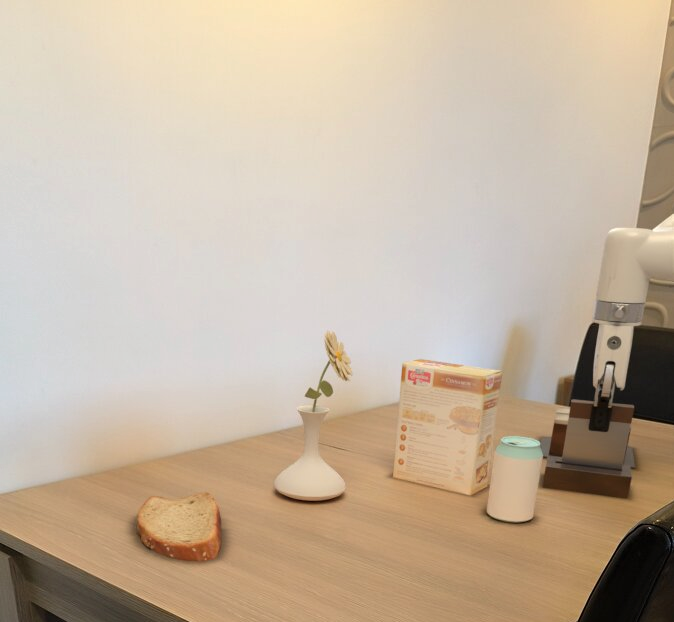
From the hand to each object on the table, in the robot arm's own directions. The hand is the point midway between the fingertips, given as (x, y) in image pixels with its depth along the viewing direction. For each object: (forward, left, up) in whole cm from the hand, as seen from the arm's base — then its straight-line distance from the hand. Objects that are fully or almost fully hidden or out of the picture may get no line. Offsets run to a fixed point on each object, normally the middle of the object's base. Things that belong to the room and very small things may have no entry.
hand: (598, 428), depth 138 cm
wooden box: (0, -24, -11) cm, 26 cm away
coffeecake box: (+24, +8, -11) cm, 28 cm away
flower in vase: (+42, +23, -11) cm, 50 cm away
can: (+11, +21, -11) cm, 26 cm away
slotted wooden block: (0, 0, -11) cm, 11 cm away
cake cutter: (0, 0, -7) cm, 7 cm away
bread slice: (+53, +46, -11) cm, 71 cm away
